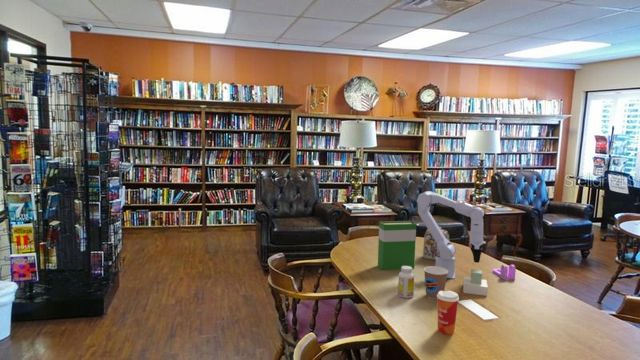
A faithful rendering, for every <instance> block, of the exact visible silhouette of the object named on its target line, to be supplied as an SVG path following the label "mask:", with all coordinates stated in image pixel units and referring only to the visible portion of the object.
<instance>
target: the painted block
mask: <svg viewBox="0 0 640 360" xmlns="http://www.w3.org/2000/svg"><path fill="white" fill-rule="evenodd" d="M462 285H463V286H462V290H463V292H462V293H463V294H468V295H469V294H470V295H478V296H485V297H487V296H488V292H489V291H488V290H489V289H488V288H489V286H488V281H487V279H483V278H482V282H481V284H474V283H471V277H467V276H464V277H463V283H462Z"/></svg>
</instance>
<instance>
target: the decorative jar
mask: <svg viewBox="0 0 640 360" xmlns="http://www.w3.org/2000/svg"><path fill="white" fill-rule="evenodd" d="M439 228H440V230H441V231H442V233H443V234H444V236H445V238H446V239H448V240H449V241H450V233H449V232H448V231H447V230H446V229H442V227H441V226H439ZM422 250H423V251H422V252H423V253H422V258H423V259H427V260H431V261H432V260H433V261H436V257H440V253H439V250H438V247H437V243H436V241H435V240H434V238H433V236H432V235H431V233H430V231H429V230H428V229H426V231H425V232H424V237H423V249H422Z"/></svg>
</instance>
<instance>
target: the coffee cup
mask: <svg viewBox="0 0 640 360" xmlns="http://www.w3.org/2000/svg"><path fill="white" fill-rule="evenodd" d="M423 271H424V286H425V294H426V297H427V298H429V299H430V300H431V299H432V300H438V298H437V294H438V292H439V291H445V288H446V283H447V279H448V278H447V273H448V270H447V269H445V268H442V267H437V266H435V265H434V266H433V265H432V266H431V265H430V266H429V265H428V266H425V267H424V268H423Z"/></svg>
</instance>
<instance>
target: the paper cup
mask: <svg viewBox="0 0 640 360" xmlns="http://www.w3.org/2000/svg"><path fill="white" fill-rule="evenodd" d="M437 298H438V299H437V331H438V332H439V333H440V334H443V335H449V336H451V335H453V334H454V333H455V328H456V320H457V311H458V303H459V302H458V301H460V297H459V294H458V293H457V292H454V291H452V290H444V291H439V292H438V294H437Z"/></svg>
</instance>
